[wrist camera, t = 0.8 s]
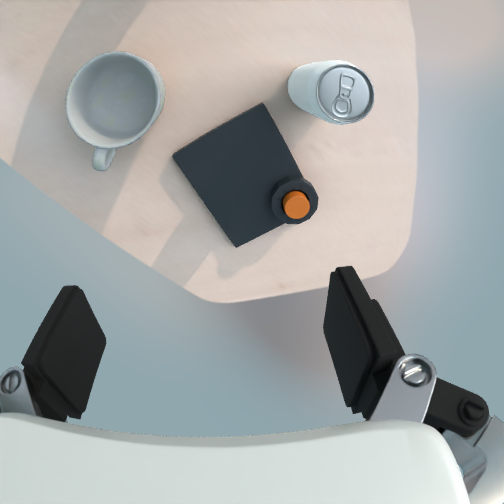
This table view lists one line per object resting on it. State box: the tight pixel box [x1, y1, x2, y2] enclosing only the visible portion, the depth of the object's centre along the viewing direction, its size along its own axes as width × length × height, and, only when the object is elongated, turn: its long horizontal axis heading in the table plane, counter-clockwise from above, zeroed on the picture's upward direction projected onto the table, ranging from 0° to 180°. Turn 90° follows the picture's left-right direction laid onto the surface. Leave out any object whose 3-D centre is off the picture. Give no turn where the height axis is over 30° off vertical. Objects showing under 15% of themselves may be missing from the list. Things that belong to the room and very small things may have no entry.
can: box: [288, 60, 375, 125], centre depth 27 cm, size 6×6×12 cm
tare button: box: [283, 191, 310, 219], centre depth 37 cm, size 3×3×2 cm
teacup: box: [66, 51, 165, 171], centre depth 28 cm, size 14×11×8 cm
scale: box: [172, 103, 318, 248], centre depth 37 cm, size 16×14×3 cm
